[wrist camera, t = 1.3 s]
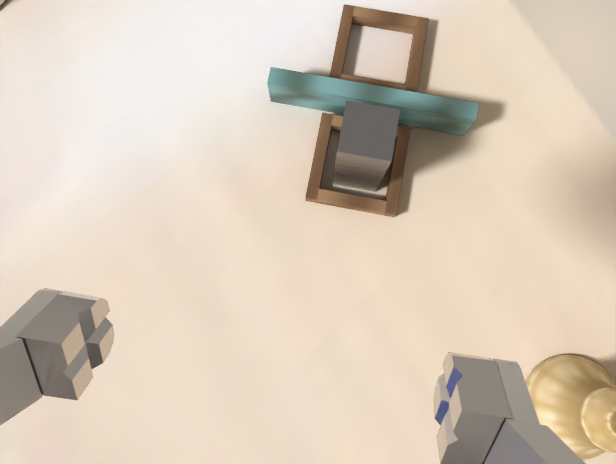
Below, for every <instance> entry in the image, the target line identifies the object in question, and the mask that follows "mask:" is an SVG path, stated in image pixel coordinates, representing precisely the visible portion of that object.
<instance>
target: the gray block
mask: <svg viewBox="0 0 616 464" xmlns="http://www.w3.org/2000/svg"><path fill="white" fill-rule="evenodd" d="M399 115H400V110H398V109H393V108H387V107H381V106H375V105H370V104H364V103H358V102H353V101H347V100H346V105H345V111H344V116H343V121H342V126H341V132H340V137H339V142H338V147H337V153H336V159H335V166H334V172H333V179H332V184H336V185H342V186H347V187H352V188H358V189H363V190H369V191H374V192H376V190H377V188H378V186H379V184H380V182H381V180H382V178H383V177H384V175H385V173H386V171H387V169H388V167H389V165H390V163H391V162H392V156H393V150H394V144H395V138H396V132H397V126H398V121H399Z"/></svg>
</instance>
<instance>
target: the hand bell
mask: <svg viewBox="0 0 616 464" xmlns="http://www.w3.org/2000/svg"><path fill="white" fill-rule="evenodd" d="M526 385H527V388H528V391H529V394H530V397H531V400H532V403H533V405H534V408H535V411H536V414H537V417H538V420H539V423H540V424H541V425H546V426H548V427H549V428H550V429H551V430H552V431H553V432H554V433H555V434H556V435H557V436H558V437H559V438H560V439H561V440H562V441H563V442H564V443H565V444H566V445H567V446H568V447H569V448H570V449H571V450H572V451H573V452H574V453H575V454H576V455H577V456H578V457H579V458H580V459H581V460H584V459H590V458H593V457H596V456H598V455H600V454H602V453H604V452H605V451H609V452H616V383H615V381H614V380H613V379H612V377H611V376H610V375H609V374H608V373H607V371H606V370H605V369H603V368H602V367H601V366H600V365H598V364H597V363H595V362H594V361H592V360H590V359H588V358H585V357H582V356H578V355H572V354H564V355H557V356H554V357H550V358H548V359H546V360H544V361H543V362H541V363H540V364H539V365H538V366H537V367H536V368H535V369H534V370H533V371H532V372H531V374H530V375H529V377H528V379H527V381H526Z"/></svg>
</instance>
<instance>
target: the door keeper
mask: <svg viewBox="0 0 616 464" xmlns="http://www.w3.org/2000/svg"><path fill="white" fill-rule="evenodd" d="M351 24H357V25H363V26H369V27H375V28H381V29H386V30H392V31H398V32H404V33H410V34H413V39H412V45H411V51H410V57H409V63H408V69H407V75H406V81H405V85H401V84H396V83H390V82H384V81H378V80H373V79H367V78H361V77H355V76H350V75H344V74H342V70H343V65H344V60H345V55H346V50H347V44H348V39H349V34H350V29H351ZM427 24H428V18H422V17H416V16H410V15H404V14H398V13H392V12H386V11H380V10H374V9H368V8H362V7H356V6H350V5H344V7H343V12H342V17H341V22H340V27H339V32H338V37H337V42H336V47H335V52H334V57H333V62H332V67H331V72H330V77H325V76H319V75H314V74H308V73H302V72H296V71H291V70H285V69H279V68H273V67H271V69H270V74H269V78H268V88H269V93H270V98H271V101H272V102H278V103H283V104H289V105H295V106H300V107H306V108H311V109H317V110H323V111H328V112H334V113H340V114H344V111H345V105H346V100H347V101H353V102H358V103H364V104H370V105H375V106H381V107H387V108H393V109H398V110H400V115H399V121H398V124H402V125H407V126H413V127H419V128H424V129H430V130H436V131H441V132H447V133H453V134H458V135H464V133H465V132H466V131H467V130H468V129H469V128H470V127H471V125H472V124H473V123H474V122H475V121H476V119H477V112H478V105H479V103H474V102H469V101H463V100H457V99H451V98H446V97H440V96H434V95H429V94H423V93H417V92H416V91H417V85H418V79H419V73H420V67H421V61H422V55H423V49H424V43H425V36H426V30H427ZM342 121H343V116H339V115H333V114H327V113H322V118H321V123H320V128H319V133H318V138H317V143H316V148H315V153H314V158H313V163H312V168H311V173H310V178H309V183H308V188H307V193H306V201H310V202H315V203H321V204H326V205H332V206H337V207H342V208H348V209H353V210H359V211H364V212H369V213H375V214H380V215H385V216H391V217H394V216H395V215H396V213H397V207H398V201H399V195H400V189H401V183H402V177H403V171H404V165H405V159H406V152H407V146H408V140H409V134H410V128H406V127H401V126H397V132H396V138H395V146H394V152H393V158H392V164H391V170H390V175H389V181H388V187H387V193H386V199H385V201H383V200H378V199H373V198H367V197H362V196H356V195H351V194H345V193H340V192H335V191H329V190H324V189H320V183H321V178H322V173H323V168H324V163H325V158H326V153H327V147H328V142H329V137H330V132H331V130H333V131H339V132H341V126H342Z"/></svg>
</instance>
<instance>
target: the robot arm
mask: <svg viewBox="0 0 616 464" xmlns="http://www.w3.org/2000/svg"><path fill="white" fill-rule="evenodd" d="M4 1H5V0H0V5H1V4H2V3H3V2H4ZM109 311H110V310H109V306H108V302H107V300H105V299H103V298H99V297H93V296H88V295H82V294H77V293H72V292H66V291H64V292H63V291H58V290H53V289H47V288H44V289H41V290H38V291H37V292H36V293H35V294H34V295H33V296H32V297H31V298H30V299H29V300H28V301H27V302H26V303H25V304H24V305H23V306H22V307H21V308H20V309H19V310H18V311H17V312H16V313H15V314H14V315H12V316H11V317H10V318H9V319H8V320H7V321H6V322H5V323H4V324H3V325H2V326H1V327H0V425H2V424H3V423H5V422H6V421H7V420H9V419H10V418H12V417H13V416H15V415H16V414H18V413H19V412H21V411H22V410H24V409H25V408H27V407H28V406H30V405H31V404H33V403H34V402H36V401H37V400H39V399H40V398H42V395H44V396H51V397H58V398H65V399H72V400H78V399H79V397H80V396H81V394H82V393H83V392H84V390H85V389H86V387H87V386H88V384H89V383H90V381H91V380H92V378H93V373H92V369H93V368H95V367H97V366H98V365H100V364H102V363H103V362H104V361H105V359H106V358H107V356H108V355H109V353H110V350H111V347H112V344H113V339H114V330H113V325H112V324H111V323H110V322H109V320H108V319H107V318H106V315H107V314H108V313H109ZM443 368H444V374H443V375H441V376H439V377H438V380H437V383H436V387H435V393H434V415H435V419H436V420H437V422H438V423H439V424H440V425H441V426H440V429H439V432H438V434H437V441H438V449H439V457H440V464H585V463H584V462H583V461H582V460H581V459H580V458H579V457H578V456H577V455H576V454H575V453H574V452H573V451H572V450H571V449H570V448H569V447H568V446H567V445H566V444H565V443H564V442H563V441H562V440H561V439H560V438H559V437H558V436H557V435H556V434H555V433H554V432H553V431H552V430H551V429H550V428H549V427H548V426H546V425H541V424H540V423H539V420H538V417H537V414H536V411H535V408H534V405H533V403H532V400H531V397H530V394H529V391H528V388H527V385H526V382H525V380H524V377H523V374H522V371H521V368H520V366H519V364H518V363H517V362H513V361H506V360H499V359H491V358H485V357H478V356H471V355H464V354H457V353H451V352H448V354H447V355H446V357H445V359H444V362H443Z"/></svg>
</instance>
